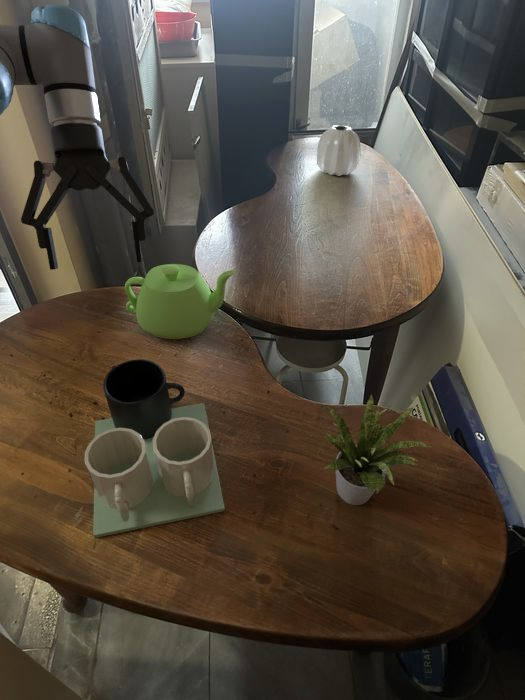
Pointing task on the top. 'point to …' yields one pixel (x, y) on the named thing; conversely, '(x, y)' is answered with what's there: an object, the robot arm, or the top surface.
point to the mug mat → (158, 490)
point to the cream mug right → (180, 440)
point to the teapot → (175, 301)
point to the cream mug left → (111, 453)
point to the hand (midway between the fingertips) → (97, 265)
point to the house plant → (367, 455)
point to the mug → (140, 396)
